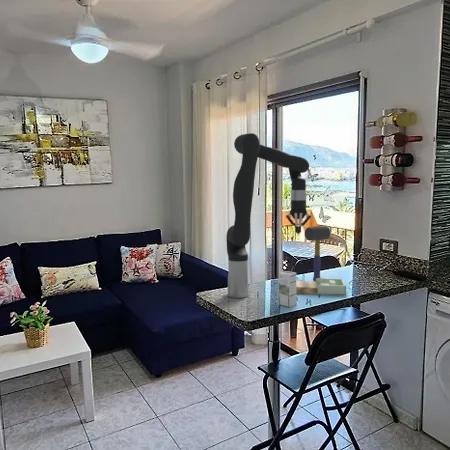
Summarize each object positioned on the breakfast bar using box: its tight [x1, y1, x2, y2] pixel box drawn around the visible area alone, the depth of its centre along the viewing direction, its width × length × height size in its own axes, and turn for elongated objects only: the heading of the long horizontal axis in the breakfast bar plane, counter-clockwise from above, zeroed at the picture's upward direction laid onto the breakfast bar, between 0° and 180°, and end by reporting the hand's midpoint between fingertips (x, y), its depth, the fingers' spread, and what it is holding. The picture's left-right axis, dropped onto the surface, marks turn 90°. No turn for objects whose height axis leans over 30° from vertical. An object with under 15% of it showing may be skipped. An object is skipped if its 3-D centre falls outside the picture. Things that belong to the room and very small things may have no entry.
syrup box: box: [278, 270, 297, 308], centre depth 184 cm, size 6×6×14 cm
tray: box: [316, 277, 347, 296], centre depth 206 cm, size 13×14×4 cm
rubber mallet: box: [304, 225, 331, 281], centre depth 220 cm, size 12×8×30 cm, turn 117°
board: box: [296, 280, 318, 295], centre depth 208 cm, size 12×12×3 cm
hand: (298, 233), depth 212 cm, fingers closed
